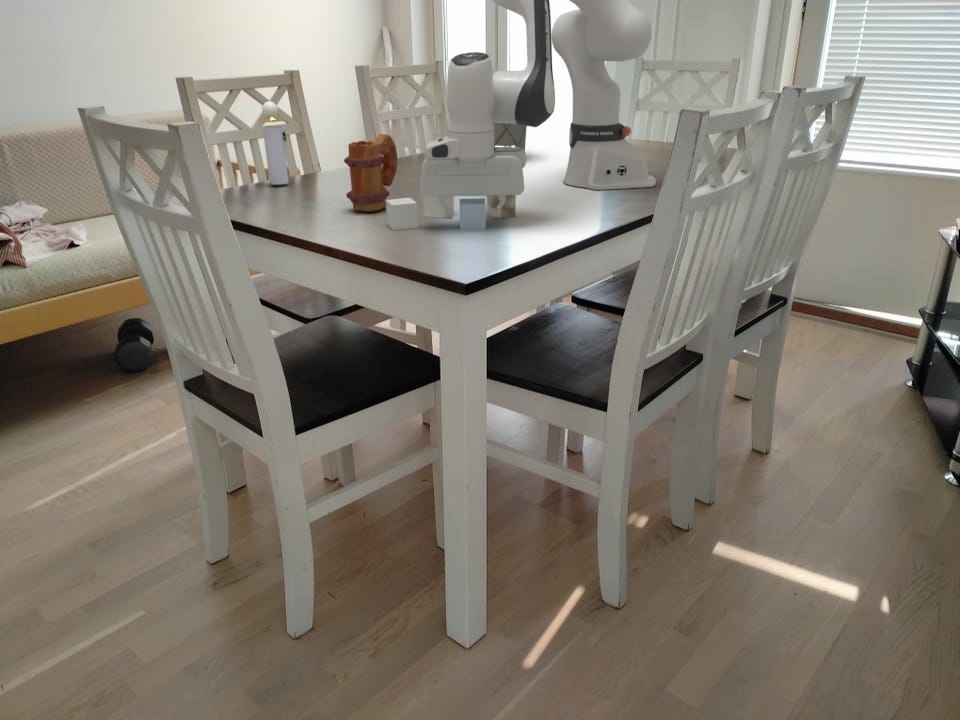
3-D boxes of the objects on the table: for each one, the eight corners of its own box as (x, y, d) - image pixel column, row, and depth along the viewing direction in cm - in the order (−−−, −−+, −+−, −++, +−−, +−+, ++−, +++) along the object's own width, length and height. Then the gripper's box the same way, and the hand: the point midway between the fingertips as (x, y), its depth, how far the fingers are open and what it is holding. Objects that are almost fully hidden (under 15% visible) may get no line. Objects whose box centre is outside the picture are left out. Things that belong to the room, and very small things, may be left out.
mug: (369, 216, 153) (363, 142, 147) (340, 212, 157) (333, 140, 151) (411, 202, 164) (407, 133, 158) (383, 198, 168) (378, 131, 162)
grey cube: (411, 222, 149) (410, 197, 147) (418, 228, 145) (417, 202, 143) (387, 224, 148) (385, 199, 145) (393, 230, 143) (392, 205, 141)
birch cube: (509, 211, 156) (510, 188, 154) (515, 217, 152) (515, 193, 150) (486, 212, 155) (486, 189, 153) (491, 218, 151) (491, 194, 149)
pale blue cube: (485, 223, 148) (484, 198, 146) (485, 229, 143) (485, 204, 141) (460, 223, 148) (459, 198, 146) (460, 230, 143) (459, 204, 141)
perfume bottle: (276, 189, 179) (265, 103, 171) (263, 185, 183) (251, 101, 174) (296, 185, 183) (286, 101, 175) (283, 182, 187) (272, 99, 178)
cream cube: (453, 212, 156) (453, 189, 154) (447, 218, 152) (446, 194, 150) (431, 211, 157) (430, 188, 155) (424, 217, 153) (423, 193, 151)
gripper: (524, 142, 142) (524, 213, 148) (419, 144, 142) (422, 214, 147) (527, 147, 136) (526, 220, 142) (417, 149, 136) (420, 222, 142)
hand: (472, 217), depth 145 cm, fingers open, 8 cm apart
